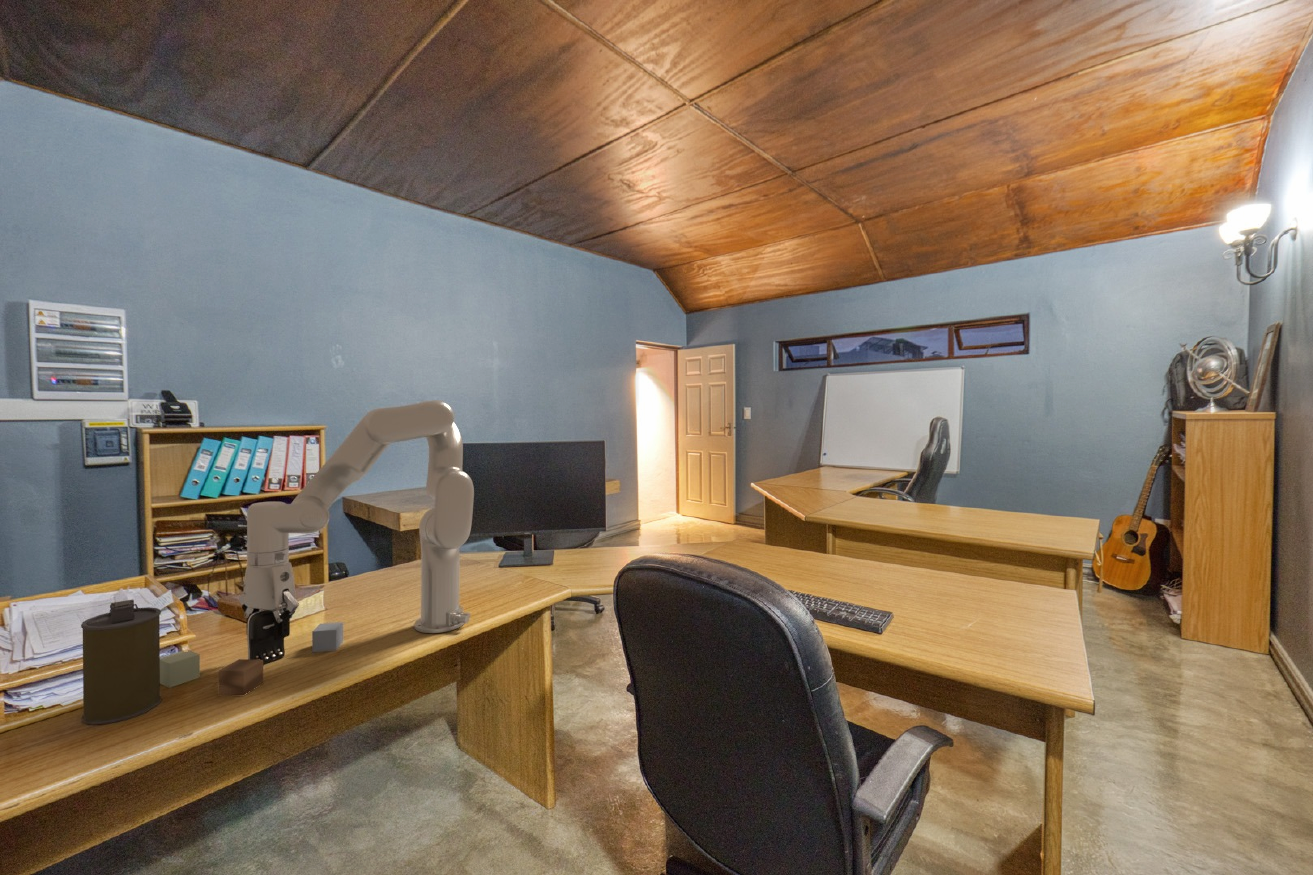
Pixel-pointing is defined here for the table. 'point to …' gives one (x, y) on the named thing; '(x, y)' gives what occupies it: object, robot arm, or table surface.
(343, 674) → the table surface
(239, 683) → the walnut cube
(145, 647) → the canister
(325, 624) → the slate cube
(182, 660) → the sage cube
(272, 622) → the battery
